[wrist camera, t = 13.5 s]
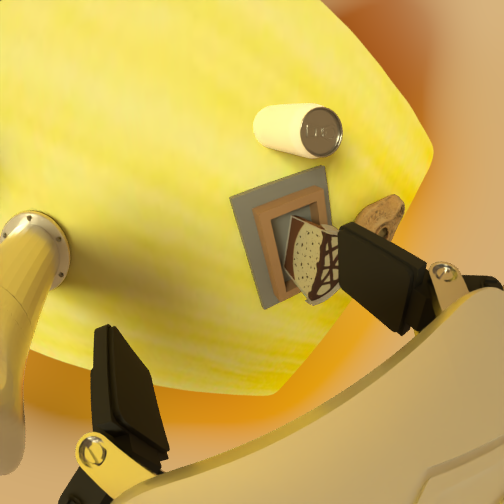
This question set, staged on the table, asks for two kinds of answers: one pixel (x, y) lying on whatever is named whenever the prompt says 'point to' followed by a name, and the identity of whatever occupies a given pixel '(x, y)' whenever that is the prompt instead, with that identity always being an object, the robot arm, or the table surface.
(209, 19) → the table surface
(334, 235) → the food container
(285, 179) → the tray
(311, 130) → the can
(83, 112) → the table surface
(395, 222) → the oil lamp
